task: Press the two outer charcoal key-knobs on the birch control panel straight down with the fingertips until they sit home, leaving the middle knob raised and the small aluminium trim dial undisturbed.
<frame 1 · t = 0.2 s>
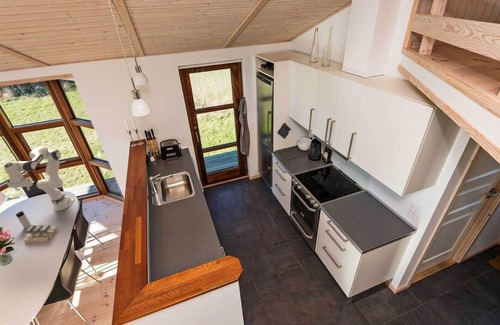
hand: (23, 190, 241), 47 cm above the table, fingers open, 8 cm apart
knob c: (31, 230, 247), point 8 cm above the table, slide at 4.0 cm
knob a: (46, 229, 248), point 8 cm above the table, slide at 4.0 cm
panel: (42, 235, 251), on the table
knob b: (38, 230, 248), point 8 cm above the table, slide at 4.0 cm
trim dial: (32, 237, 244), point 4 cm above the table, touching panel
travel mug: (28, 227, 263), on the table
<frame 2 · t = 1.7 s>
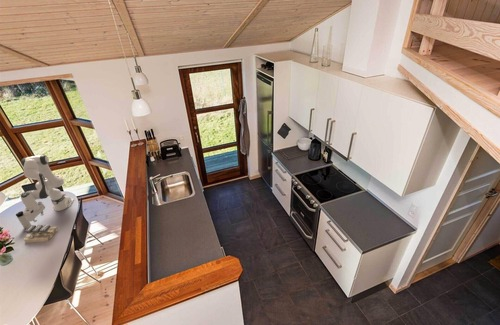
hand: (39, 218, 240), 24 cm above the table, fingers open, 8 cm apart
nothing on the table moved.
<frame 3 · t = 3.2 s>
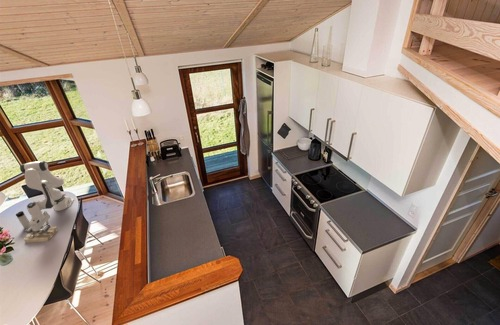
hand: (44, 227, 246), 11 cm above the table, fingers open, 8 cm apart
knob a: (46, 230, 248), point 8 cm above the table, slide at 3.9 cm, touching gripper
everything else where it was.
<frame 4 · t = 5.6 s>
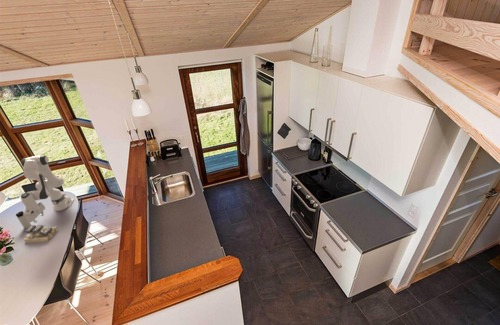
hand: (39, 218, 240), 23 cm above the table, fingers open, 8 cm apart
knob a: (47, 232, 250), point 4 cm above the table, slide at -0.1 cm
everything else where it was.
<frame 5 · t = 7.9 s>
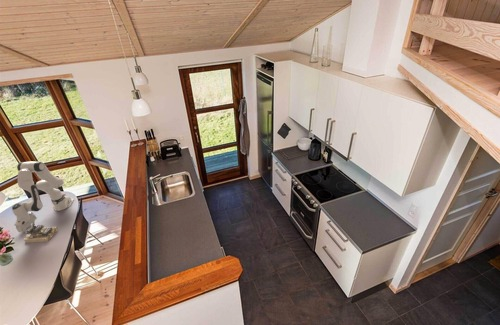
hand: (30, 228, 246), 10 cm above the table, fingers open, 8 cm apart
knob c: (32, 231, 248), point 7 cm above the table, slide at 3.2 cm, touching gripper
everything else where it was.
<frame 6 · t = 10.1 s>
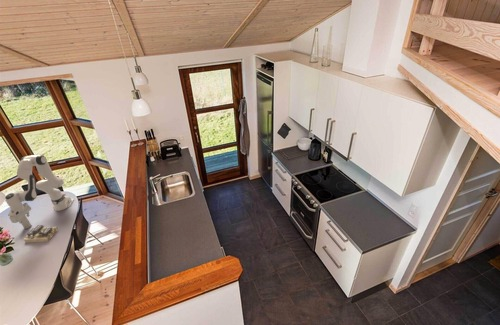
hand: (24, 219, 240), 23 cm above the table, fingers open, 8 cm apart
knob c: (33, 233, 249), point 4 cm above the table, slide at -0.1 cm
everything else where it was.
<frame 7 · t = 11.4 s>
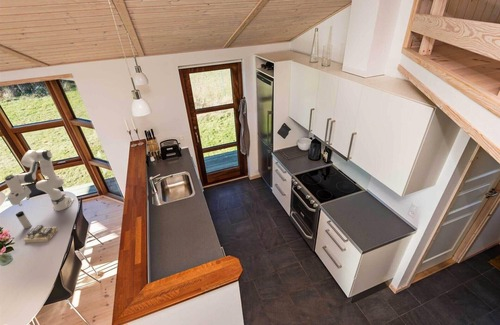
hand: (24, 202, 237), 39 cm above the table, fingers open, 8 cm apart
nothing on the table moved.
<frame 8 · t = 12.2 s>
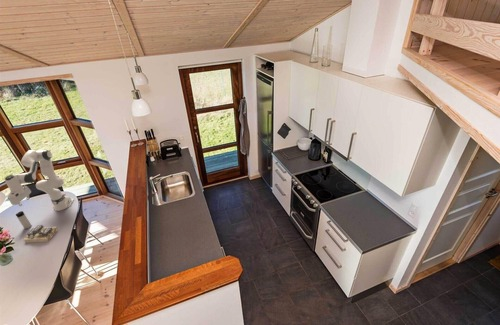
hand: (24, 202, 237), 39 cm above the table, fingers open, 8 cm apart
nothing on the table moved.
at the end: knob a slide at -0.1 cm; knob c slide at -0.1 cm; knob b slide at 4.0 cm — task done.
